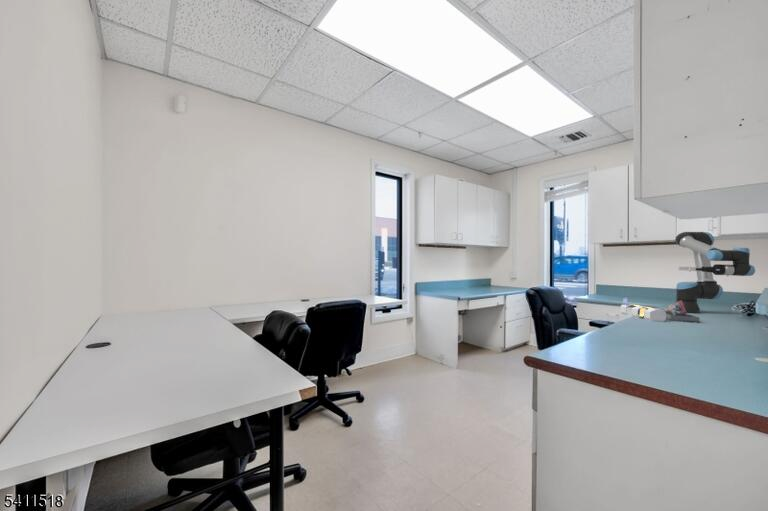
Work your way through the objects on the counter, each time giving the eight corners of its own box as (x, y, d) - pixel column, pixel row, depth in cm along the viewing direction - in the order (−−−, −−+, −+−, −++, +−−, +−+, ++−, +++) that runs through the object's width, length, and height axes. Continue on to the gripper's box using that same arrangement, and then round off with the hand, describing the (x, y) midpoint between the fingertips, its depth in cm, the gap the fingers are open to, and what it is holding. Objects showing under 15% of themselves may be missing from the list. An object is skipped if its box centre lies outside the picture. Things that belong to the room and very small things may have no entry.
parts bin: (685, 318, 210) (685, 313, 210) (699, 322, 195) (699, 317, 195) (658, 316, 215) (658, 311, 215) (670, 320, 200) (670, 315, 200)
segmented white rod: (620, 314, 222) (620, 296, 222) (634, 314, 222) (634, 296, 222) (650, 321, 197) (650, 301, 197) (666, 322, 197) (666, 301, 197)
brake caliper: (694, 317, 199) (688, 300, 199) (676, 323, 201) (670, 306, 200) (679, 313, 210) (673, 297, 210) (663, 318, 212) (656, 302, 212)
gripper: (735, 276, 203) (694, 274, 211) (710, 274, 227) (674, 273, 234) (735, 264, 203) (694, 263, 211) (710, 264, 227) (674, 263, 234)
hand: (683, 268), depth 222 cm, fingers open, 13 cm apart
